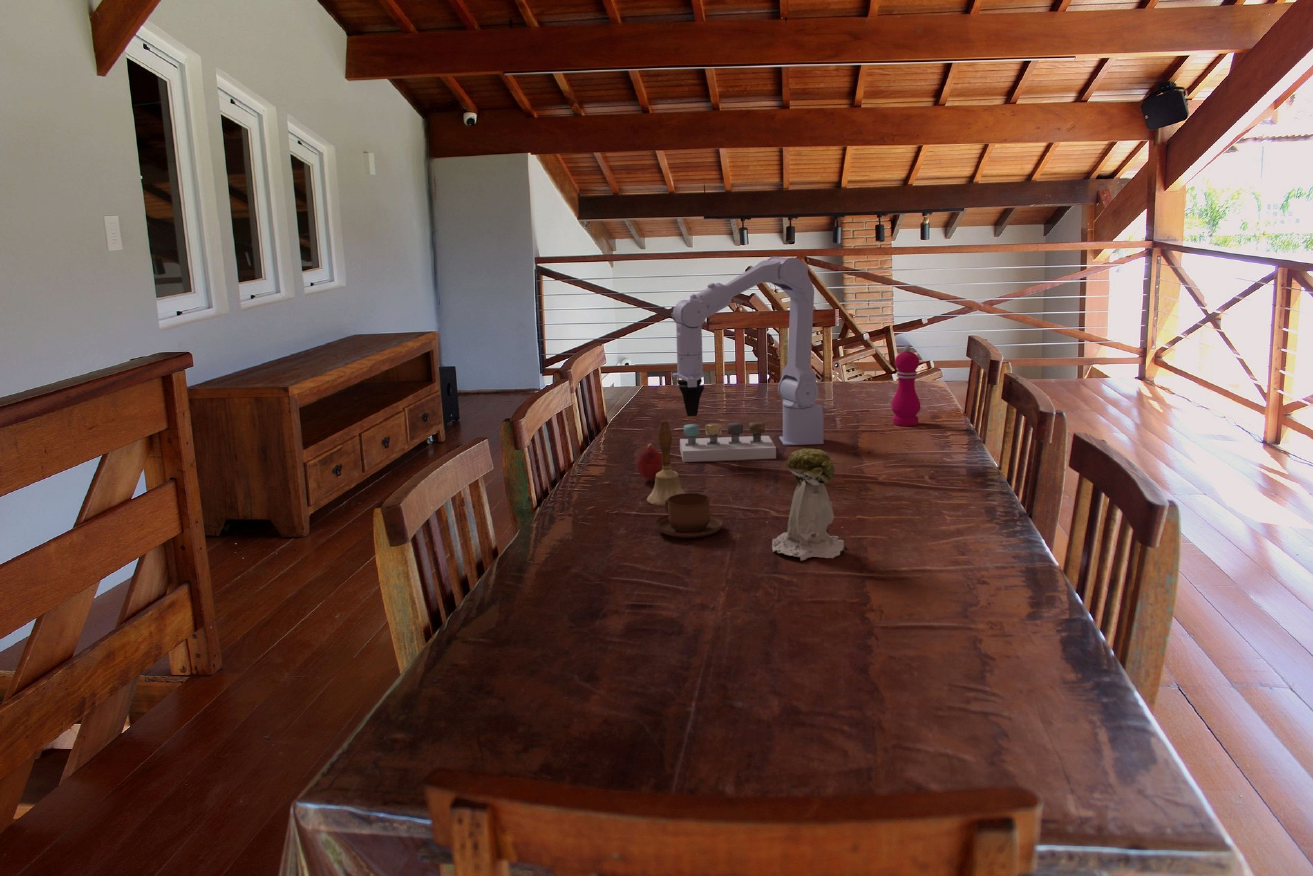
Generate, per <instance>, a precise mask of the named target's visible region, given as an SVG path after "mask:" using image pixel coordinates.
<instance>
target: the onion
mask: <svg viewBox="0 0 1313 876" xmlns="http://www.w3.org/2000/svg"><path fill="white" fill-rule="evenodd" d="M662 466H663V465H662V453H660V452H659V451H658V450H657V449H655V448H654V445H653V444H652V443H649V444H647V446H646V447H645V449H644V450H642V451H641V452H640V454H639V455H638V456H637V460H636V469H637V471H638V473H639V475H640V476H641V477H642V478H644V479H645V480H647V481H649V482H653V481H654V482H655V479H656V474H657V473H658V472H660V471H661V470H662V469H663V468H662Z"/></svg>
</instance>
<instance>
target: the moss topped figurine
mask: <svg viewBox="0 0 1313 876" xmlns="http://www.w3.org/2000/svg"><path fill="white" fill-rule="evenodd" d="M785 466H786V468H787V469H788V470H789V472H791V474H793V476H794V480H795V483H796V484H797V485H796V487H795V489H794V492H793V496H792V500H791V505H790V510H789V517H788V522H787V531H785V532H783V533H781V534H779V535H777V537H776V538H772V542H771V543H772V544H771V550H772V552H775V551H776V553H777V554H784V555H786V556H791V557H792V556H793V557H797V558H800V561H805V560H807V559H808V558H812V557H815V558H825V559H834V558H835V557H838V556H840V555H841V552H842V551H843V552H845V545H844V544H845V543H844V542H845V541H844V540H843V539H839V538H840V537H839V536H837V535H830V533H829V525H831V524H832V522H833V521H834V517H835V515H834V510H833V507H832V505H833V503H832V500H830V497H829V494H828V491H827V488H826V486H825V483H827V482H831V481H832V480H833V479H834V477H835V474H834V473H835V471H836V470H835V463H834V462H833V460H832V459H831V457H830V455H828V453H827V452H826V451H824V450H822V449H818V448H817V449H815V448H801V449H798V450H794V451H791V452H790V455H789V456H788V458H787V461H786V464H785ZM812 535H813V536H812Z"/></svg>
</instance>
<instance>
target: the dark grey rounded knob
mask: <svg viewBox="0 0 1313 876" xmlns="http://www.w3.org/2000/svg"><path fill="white" fill-rule="evenodd" d="M726 425H727V426H726V433H727V434H728V435H731V436H730V437H731V442H732V443H739V437H740V435H742V434H743V433H744V424H743V422H729V423H727V424H726Z"/></svg>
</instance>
